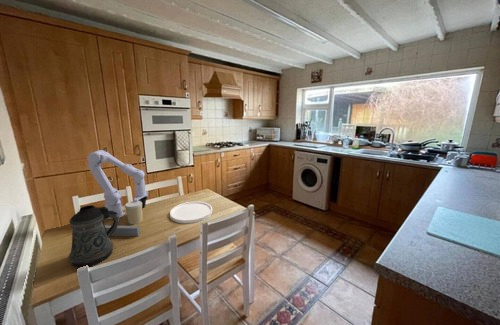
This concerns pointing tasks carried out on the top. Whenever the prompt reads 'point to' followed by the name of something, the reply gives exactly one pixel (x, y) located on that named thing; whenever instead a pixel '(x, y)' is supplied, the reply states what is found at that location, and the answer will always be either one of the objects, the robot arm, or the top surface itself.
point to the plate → (191, 212)
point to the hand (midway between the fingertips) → (142, 207)
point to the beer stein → (91, 236)
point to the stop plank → (125, 230)
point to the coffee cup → (134, 212)
